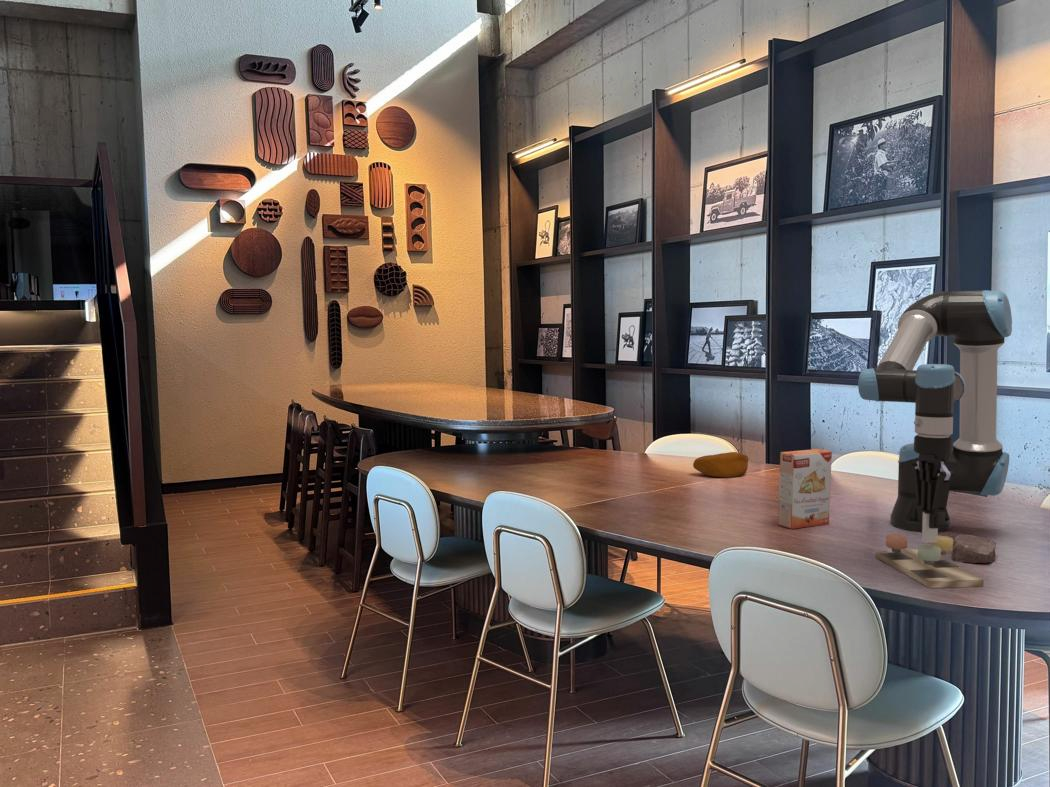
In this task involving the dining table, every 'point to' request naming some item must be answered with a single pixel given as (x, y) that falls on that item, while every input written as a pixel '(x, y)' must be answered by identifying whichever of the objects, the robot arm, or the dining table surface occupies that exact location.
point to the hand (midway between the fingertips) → (929, 541)
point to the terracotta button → (896, 542)
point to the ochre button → (944, 544)
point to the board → (929, 570)
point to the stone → (973, 549)
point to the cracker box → (804, 488)
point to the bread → (722, 464)
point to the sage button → (929, 553)
